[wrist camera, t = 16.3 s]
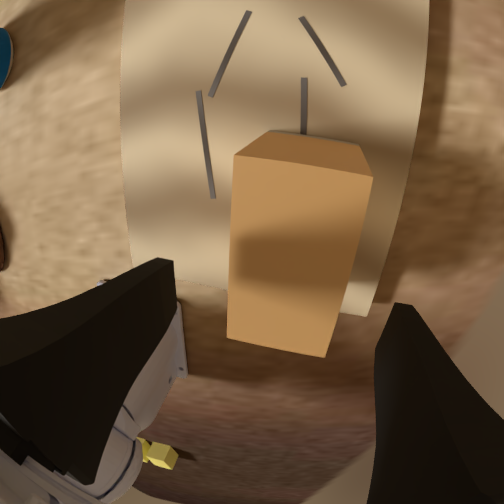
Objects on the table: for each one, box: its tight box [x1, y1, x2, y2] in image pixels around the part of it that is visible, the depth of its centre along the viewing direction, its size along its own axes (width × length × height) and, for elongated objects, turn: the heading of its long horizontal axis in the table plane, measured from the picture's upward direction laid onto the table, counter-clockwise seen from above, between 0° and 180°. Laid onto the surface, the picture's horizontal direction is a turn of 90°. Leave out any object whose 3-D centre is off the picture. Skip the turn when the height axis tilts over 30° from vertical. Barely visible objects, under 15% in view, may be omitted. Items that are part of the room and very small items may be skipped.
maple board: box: [120, 0, 429, 317], centre depth 15 cm, size 22×16×2 cm
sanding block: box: [227, 130, 373, 358], centre depth 14 cm, size 8×4×6 cm, turn 175°
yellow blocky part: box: [136, 437, 179, 470], centre depth 44 cm, size 32×32×3 cm
